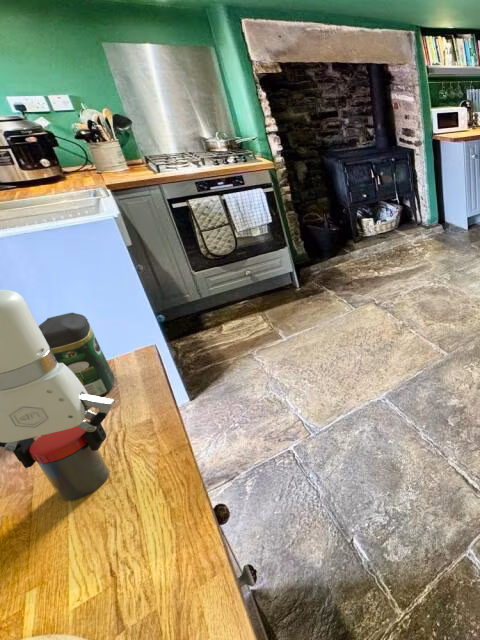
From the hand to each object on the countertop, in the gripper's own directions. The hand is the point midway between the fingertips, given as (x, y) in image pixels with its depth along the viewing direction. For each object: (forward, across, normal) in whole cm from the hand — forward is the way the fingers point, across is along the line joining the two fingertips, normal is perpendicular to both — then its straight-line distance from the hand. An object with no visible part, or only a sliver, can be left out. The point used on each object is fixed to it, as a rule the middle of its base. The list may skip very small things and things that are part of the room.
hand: (67, 451), depth 68 cm
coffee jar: (+8, -9, +29) cm, 31 cm away
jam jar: (+8, 0, 0) cm, 8 cm away
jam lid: (-3, 0, 0) cm, 3 cm away
